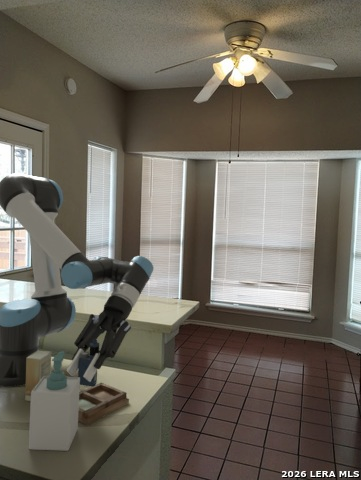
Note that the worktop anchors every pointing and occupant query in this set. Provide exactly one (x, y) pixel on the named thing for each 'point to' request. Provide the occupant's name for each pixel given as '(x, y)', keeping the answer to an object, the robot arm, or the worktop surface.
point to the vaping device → (85, 362)
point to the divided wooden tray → (99, 402)
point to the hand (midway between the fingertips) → (78, 376)
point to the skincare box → (36, 370)
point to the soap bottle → (54, 410)
